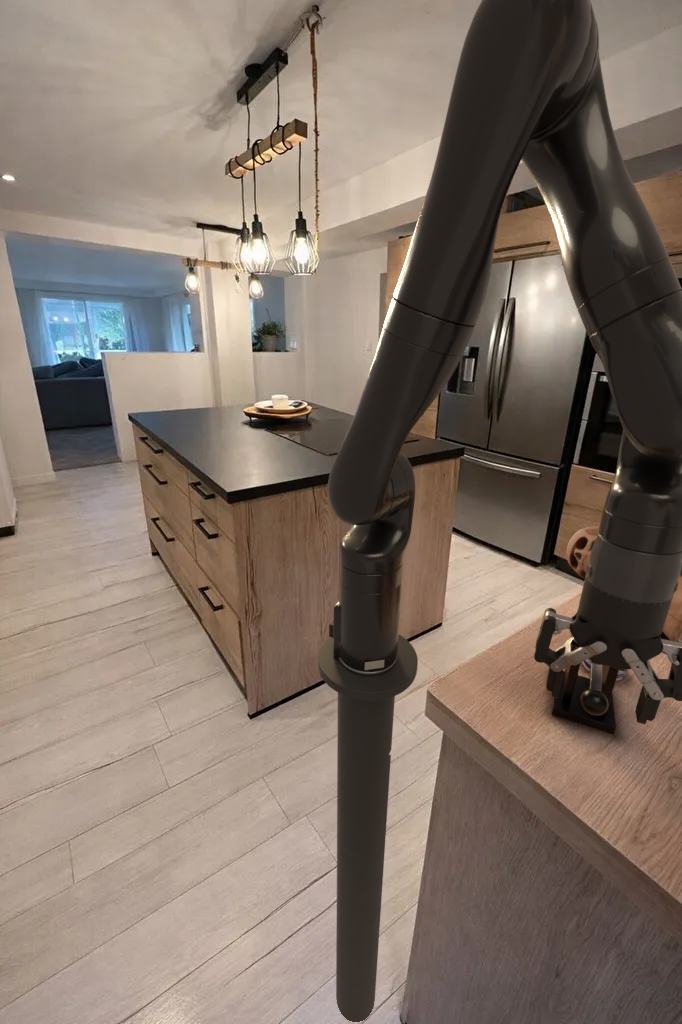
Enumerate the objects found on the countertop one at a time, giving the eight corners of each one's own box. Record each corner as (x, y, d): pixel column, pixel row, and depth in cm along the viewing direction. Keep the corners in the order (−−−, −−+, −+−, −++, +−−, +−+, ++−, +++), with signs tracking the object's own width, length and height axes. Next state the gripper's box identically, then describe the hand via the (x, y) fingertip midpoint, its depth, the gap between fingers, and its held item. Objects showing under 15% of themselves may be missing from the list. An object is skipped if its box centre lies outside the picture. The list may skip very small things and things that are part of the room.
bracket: (614, 735, 54) (638, 656, 49) (551, 714, 56) (569, 638, 52) (609, 691, 60) (630, 619, 56) (553, 675, 63) (569, 605, 59)
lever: (604, 723, 49) (610, 713, 48) (577, 714, 51) (581, 704, 49) (608, 639, 56) (613, 628, 54) (583, 633, 57) (588, 622, 55)
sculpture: (643, 649, 67) (546, 558, 95) (726, 657, 68) (607, 566, 96) (670, 593, 63) (561, 516, 91) (757, 603, 65) (624, 524, 93)
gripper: (707, 578, 44) (664, 703, 50) (552, 551, 50) (530, 665, 56) (729, 617, 38) (678, 755, 44) (549, 580, 44) (525, 706, 50)
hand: (595, 704), depth 50 cm, fingers open, 8 cm apart
